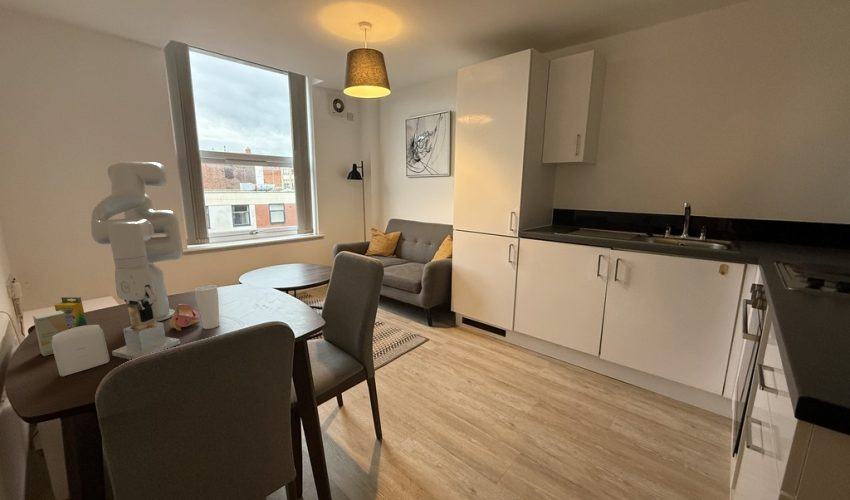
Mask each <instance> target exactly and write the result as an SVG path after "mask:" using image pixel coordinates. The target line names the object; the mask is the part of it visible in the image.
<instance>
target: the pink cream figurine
mask: <svg viewBox="0 0 850 500" xmlns="http://www.w3.org/2000/svg"><path fill="white" fill-rule="evenodd" d="M197 323H200V313H198V311H197V310H195V309H194V307H193V306H192V305H189V304H186V303H179V304H178V303H177V307H176V311H175V312H174V314H173V316H172V317H171V319H170V320H169V326H170V327H171V328H173V329H176V330H177V331H182V327H189V326H190V325H194V324H197Z"/></svg>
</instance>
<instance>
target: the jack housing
mask: <svg viewBox="0 0 850 500" xmlns="http://www.w3.org/2000/svg"><path fill="white" fill-rule="evenodd" d="M154 323H155V325H148V326H147V328H145V329H142V330H136V329H132V326H131V325H130V326H127V327H124V328H123V329H122V331H123V336H124V341H125V345H124V346H121V347H119V348H117V349H114V350H112V351H111V354H112V356H113V357H118V358H121V359H125V358H126V359H127V360H130V361H132V360H131V359H134V358H137V357H139V356H142V355H146V354H149V353H152V352H156V351H160V350H164V349H167V348H169V349H171V348H173V347H175V346H178V345H180V344H181V340H180V338H175V337H169V336H166V332H165V326H164V322H161V321H158V322H155V321H154ZM167 350H168V349H167Z"/></svg>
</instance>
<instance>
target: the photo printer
mask: <svg viewBox="0 0 850 500" xmlns="http://www.w3.org/2000/svg"><path fill="white" fill-rule="evenodd" d="M100 326H101V325H99V324H87V325H86V326H79V327H75V328H71V329H68V330H65V331H62V332H60V333H58V334H56V335H54V336H52V337H53V339H52V348H53V352H54V353H53V355H54V358H55V364H56V367H57V371H58V374H59V376H60V377H65V376H69V375H72V374H75V373H80V372H82V371H85V370H89V369H92V368H95V367H99V366H102V365H104V364H107V363H109V362H110V361H111V360H110V354H109V351H108V345H107V341H106V338H105V333H104V330H103V328H102V327H100Z"/></svg>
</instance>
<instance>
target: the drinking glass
mask: <svg viewBox="0 0 850 500" xmlns="http://www.w3.org/2000/svg"><path fill="white" fill-rule="evenodd" d="M194 295H195V301H196V305H197V308H198V309H197V310H198V312H199V313H198V314H199V318H200V321H201V326H202V328H203V329H204V330H211V329H215V328H217V327H218V326H220V324H221V323H220V310H219V309H220V307H219V305H220V304H219V291H218V286H217V285H215V284H209V285H207V284H206V285H202V286H199V287H198V286H197V287H195V289H194Z"/></svg>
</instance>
